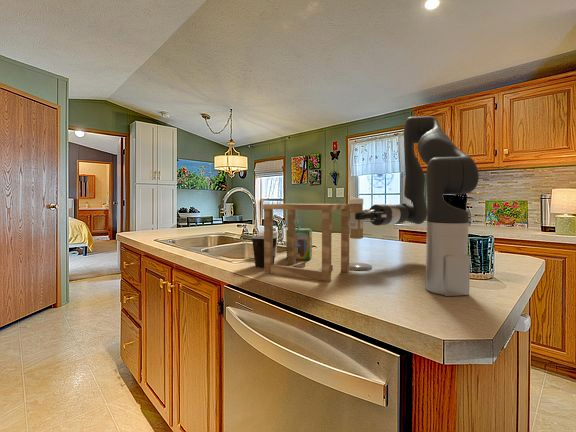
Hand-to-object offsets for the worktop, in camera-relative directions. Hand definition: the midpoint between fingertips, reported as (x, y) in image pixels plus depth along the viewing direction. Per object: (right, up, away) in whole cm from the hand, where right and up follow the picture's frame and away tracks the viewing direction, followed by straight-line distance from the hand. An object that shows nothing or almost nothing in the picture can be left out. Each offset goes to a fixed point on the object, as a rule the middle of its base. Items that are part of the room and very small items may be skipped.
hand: (350, 216), depth 105 cm
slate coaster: (+3, -17, +3) cm, 18 cm away
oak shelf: (-15, -18, -4) cm, 23 cm away
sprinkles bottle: (+2, -8, +2) cm, 8 cm away
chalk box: (-16, -17, +20) cm, 31 cm away
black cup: (-29, -17, +24) cm, 41 cm away
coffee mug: (-30, -18, +4) cm, 35 cm away
